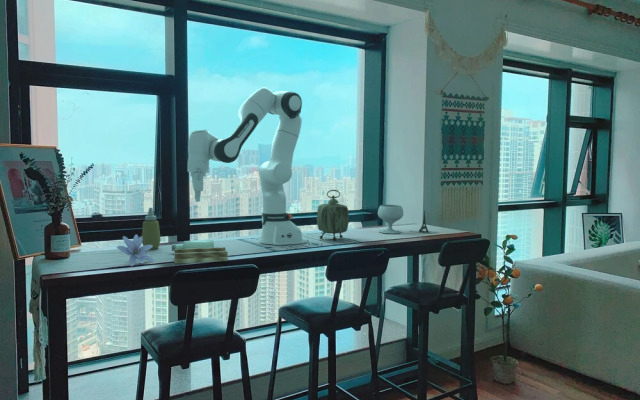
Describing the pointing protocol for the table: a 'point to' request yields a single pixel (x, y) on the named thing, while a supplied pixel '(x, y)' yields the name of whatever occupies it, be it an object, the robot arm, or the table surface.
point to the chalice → (390, 216)
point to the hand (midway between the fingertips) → (197, 200)
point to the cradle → (200, 255)
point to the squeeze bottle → (151, 231)
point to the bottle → (194, 245)
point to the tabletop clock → (332, 217)
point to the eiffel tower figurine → (424, 227)
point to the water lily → (135, 250)
